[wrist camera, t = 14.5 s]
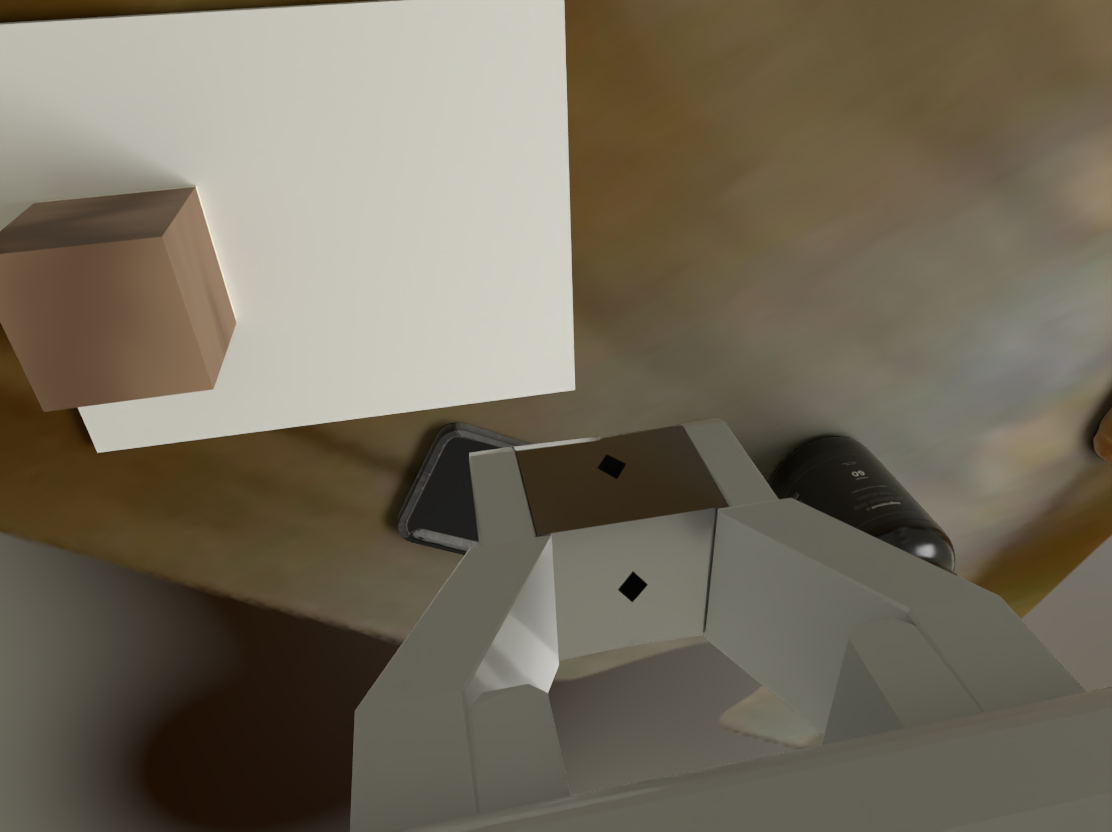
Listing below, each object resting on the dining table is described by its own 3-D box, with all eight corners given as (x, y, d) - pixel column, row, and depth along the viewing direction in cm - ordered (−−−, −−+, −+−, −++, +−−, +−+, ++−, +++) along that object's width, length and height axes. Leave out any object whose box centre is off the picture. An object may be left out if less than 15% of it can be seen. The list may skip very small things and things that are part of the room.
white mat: (560, -11, 31) (564, -10, 30) (572, 384, 40) (574, 390, 40) (-81, 27, 27) (-89, 29, 27) (101, 445, 37) (97, 452, 37)
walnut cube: (-31, 257, 25) (37, 199, 31) (44, 411, 29) (94, 336, 34) (162, 236, 26) (197, 184, 31) (213, 389, 29) (237, 318, 35)
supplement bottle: (887, 433, 47) (1025, 574, 37) (848, 522, 50) (964, 673, 40) (783, 431, 45) (898, 578, 35) (750, 523, 48) (847, 680, 38)
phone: (622, 593, 48) (391, 537, 43) (618, 580, 49) (391, 524, 44) (688, 497, 45) (447, 423, 39) (681, 485, 46) (445, 411, 40)
